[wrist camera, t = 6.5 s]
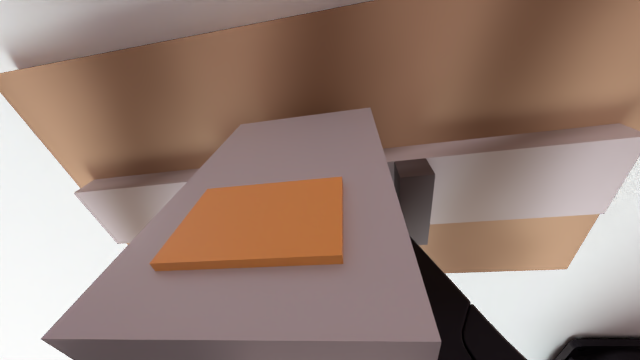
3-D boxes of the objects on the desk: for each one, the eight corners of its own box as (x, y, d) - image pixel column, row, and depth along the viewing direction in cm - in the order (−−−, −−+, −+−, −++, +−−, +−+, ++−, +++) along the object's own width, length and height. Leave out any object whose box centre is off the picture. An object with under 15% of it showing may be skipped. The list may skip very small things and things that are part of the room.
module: (370, 102, 7) (443, 331, 2) (377, 263, 11) (409, 485, 6) (239, 119, 8) (29, 331, 3) (290, 267, 12) (248, 470, 6)
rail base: (716, -66, 6) (965, -119, 4) (552, 252, 13) (603, 310, 10) (17, 70, 10) (-98, 90, 7) (169, 268, 16) (137, 315, 13)
